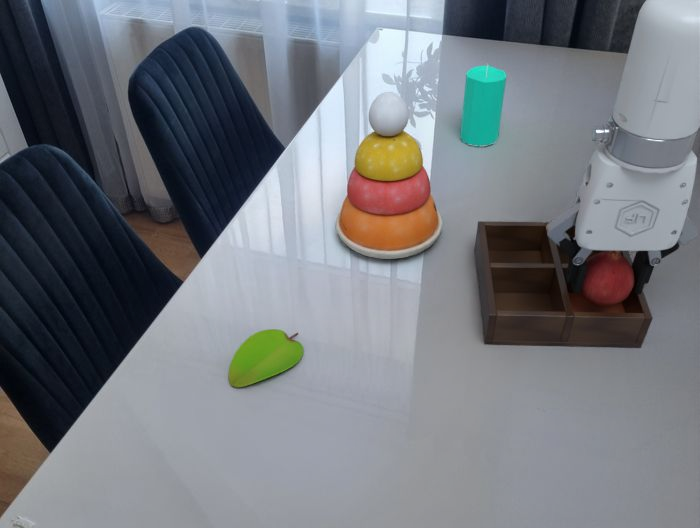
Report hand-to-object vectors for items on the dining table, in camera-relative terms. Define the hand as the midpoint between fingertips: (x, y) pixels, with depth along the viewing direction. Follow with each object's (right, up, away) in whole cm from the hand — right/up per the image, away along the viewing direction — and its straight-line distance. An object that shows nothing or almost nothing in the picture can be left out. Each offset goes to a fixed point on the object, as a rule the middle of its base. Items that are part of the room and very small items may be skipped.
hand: (604, 284), depth 76 cm
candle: (-8, +27, +34) cm, 44 cm away
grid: (-4, -1, +7) cm, 8 cm away
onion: (0, -2, +2) cm, 3 cm away
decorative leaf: (-38, -9, +1) cm, 39 cm away
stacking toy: (-23, +8, +17) cm, 30 cm away
